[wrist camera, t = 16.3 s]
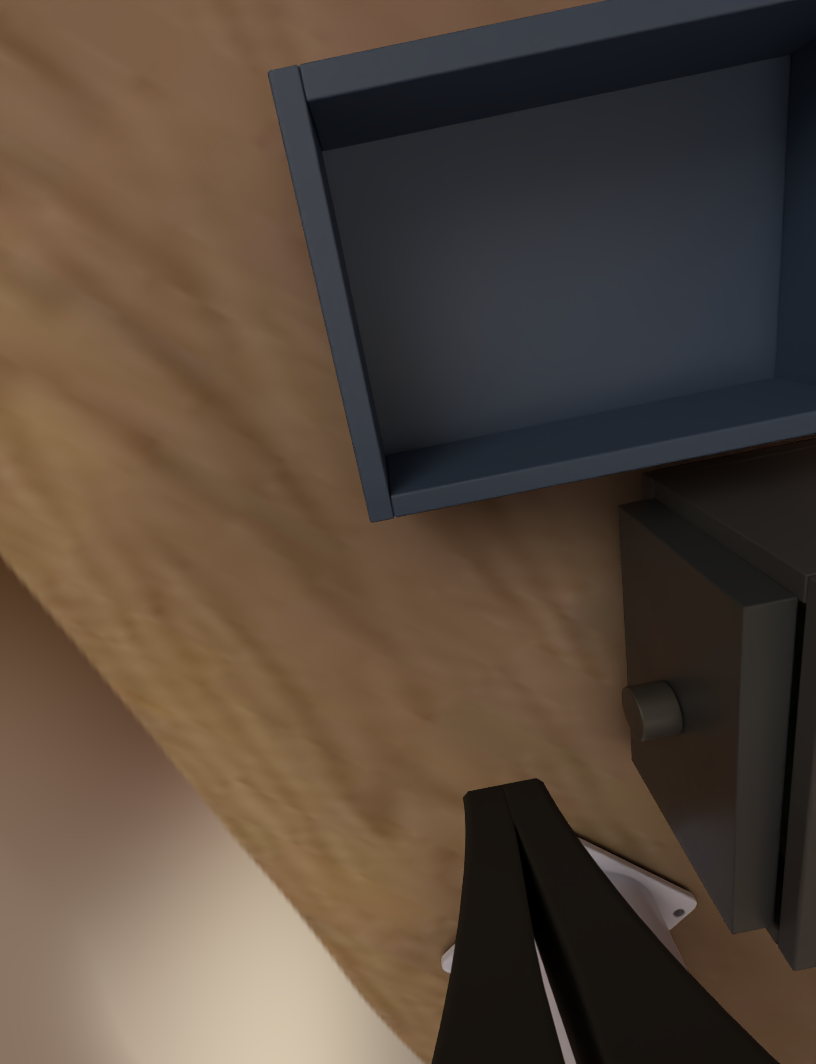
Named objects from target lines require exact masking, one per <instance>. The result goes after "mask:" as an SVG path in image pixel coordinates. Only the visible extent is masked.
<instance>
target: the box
mask: <svg viewBox="0 0 816 1064" xmlns="http://www.w3.org/2000/svg"><path fill="white" fill-rule="evenodd" d="M268 77H269V82H270V86H271V90H272V95H273V99H274V103H275V108H276V112H277V116H278V121H279V125H280V130H281V134H282V138H283V143H284V147H285V151H286V156H287V160H288V164H289V169H290V173H291V178H292V182H293V186H294V191H295V195H296V199H297V204H298V208H299V212H300V217H301V221H302V226H303V230H304V234H305V239H306V243H307V247H308V252H309V256H310V261H311V265H312V269H313V274H314V278H315V282H316V287H317V291H318V295H319V300H320V304H321V309H322V313H323V317H324V322H325V326H326V330H327V335H328V339H329V343H330V348H331V352H332V357H333V361H334V365H335V370H336V374H337V378H338V383H339V387H340V391H341V396H342V400H343V405H344V409H345V413H346V418H347V422H348V426H349V431H350V435H351V439H352V444H353V448H354V453H355V457H356V461H357V466H358V470H359V474H360V479H361V483H362V487H363V492H364V496H365V501H366V505H367V509H368V514H369V518H370V521H371V522H378V521H383V520H388V519H393V518H394V516H395V517H401V516H406V515H411V514H416V513H421V512H426V511H431V510H436V509H441V508H446V507H451V506H456V505H461V504H466V503H471V502H476V501H481V500H486V499H491V498H496V497H501V496H506V495H511V494H516V493H521V492H526V491H531V490H536V489H541V488H546V487H551V486H556V485H561V484H566V483H571V482H576V481H581V480H586V479H591V478H596V477H601V476H606V475H611V474H616V473H621V472H626V471H631V470H636V469H641V468H646V467H651V466H656V465H661V464H666V463H671V462H676V461H681V460H686V459H691V458H696V457H701V456H706V455H711V454H716V453H721V452H726V451H731V450H736V449H741V448H746V447H751V446H756V445H761V444H766V443H771V442H776V441H781V440H786V439H791V438H796V437H801V436H806V435H811V434H816V0H606V1H602V2H597V3H592V4H587V5H582V6H578V7H573V8H568V9H563V10H558V11H554V12H549V13H544V14H539V15H535V16H530V17H525V18H520V19H515V20H511V21H506V22H501V23H496V24H491V25H487V26H482V27H477V28H472V29H467V30H463V31H458V32H453V33H448V34H443V35H439V36H434V37H429V38H424V39H419V40H415V41H410V42H405V43H400V44H395V45H391V46H386V47H381V48H376V49H372V50H367V51H362V52H357V53H352V54H348V55H343V56H338V57H333V58H328V59H324V60H319V61H314V62H309V63H304V64H301V65H300V68H299V66H297V65H294V66H290V67H285V68H280V69H275V70H270V71H269V72H268Z"/></svg>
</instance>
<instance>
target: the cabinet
mask: <svg viewBox="0 0 816 1064" xmlns="http://www.w3.org/2000/svg"><path fill="white" fill-rule="evenodd" d="M653 498H655V499H656V500H658V501H659V502H661V503H662V504H664V505H665V506H666V507H668V508H669V509H671V510H672V511H674V512H675V513H677V514H678V515H680V516H681V517H682V518H684V519H685V520H687V521H688V522H690V523H691V524H693V525H694V526H695V527H697V528H698V529H700V530H701V531H703V532H704V533H706V534H707V535H709V536H710V537H711V538H713V539H714V540H716V541H717V542H719V543H720V544H722V545H723V546H724V547H726V548H727V549H729V550H730V551H732V552H733V553H735V554H736V555H738V556H739V557H740V558H742V559H743V560H745V561H746V562H748V563H749V564H751V565H752V566H753V567H755V568H756V569H758V570H759V571H761V572H762V573H764V574H765V575H767V576H768V577H769V578H771V579H772V580H774V581H775V582H777V583H778V584H780V585H781V586H782V587H784V588H785V589H787V590H788V591H790V592H791V593H793V594H794V595H796V596H797V597H798V599H799V600H800V601H802V602H803V603H806V614H805V626H804V638H803V650H802V662H801V674H800V686H799V698H798V710H797V722H796V734H795V746H794V758H793V770H792V782H791V794H790V806H789V818H788V830H787V842H786V854H785V859H784V857H783V856H782V855H781V853H780V852H779V856H778V869H777V882H776V895H775V908H774V921H773V926H772V927H767V928H766V929H767V931H768V932H769V934H770V935H771V937H772V938H773V940H774V942H775V943H776V944H778V948H779V949H780V951H781V952H782V954H783V956H784V957H785V959H786V960H787V962H788V963H789V965H790V967H791V968H792V969H793V970H794V971H797V970H803V969H808V968H813V967H816V439H811V440H806V441H801V442H796V443H791V444H786V445H781V446H776V447H771V448H766V449H761V450H756V451H751V452H746V453H741V454H736V455H731V456H726V457H721V458H716V459H711V460H706V461H701V462H696V463H691V464H686V465H681V466H676V467H671V468H666V469H661V470H656V471H651V472H646V473H644V500H648V499H653Z"/></svg>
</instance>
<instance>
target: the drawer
mask: <svg viewBox="0 0 816 1064" xmlns="http://www.w3.org/2000/svg"><path fill="white" fill-rule="evenodd" d="M618 509H619V527H620V546H621V565H622V583H623V602H624V621H625V639H626V658H627V677H628V686H627V687H625V688H624V689H623V691H622V703H623V709H624V713H625V716H626V719H627V722H628V724H629V727H630V733H631V751H632V761H633V763H634V765H635V766H636V768H637V770H638V772H639V773H640V775H641V777H642V779H643V780H644V782H645V784H646V786H647V787H648V789H649V791H650V793H651V794H652V796H653V798H654V799H655V801H656V803H657V805H658V806H659V808H660V810H661V812H662V813H663V815H664V817H665V819H666V820H667V822H668V824H669V826H670V827H671V829H672V831H673V833H674V834H675V836H676V838H677V840H678V841H679V843H680V845H681V846H682V848H683V850H684V852H685V853H686V855H687V857H688V859H689V860H690V862H691V864H692V866H693V867H694V869H695V871H696V873H697V874H698V876H699V878H700V880H701V881H702V883H703V885H704V887H705V888H706V890H707V892H708V893H709V895H710V897H711V899H712V900H713V902H714V904H715V906H716V907H717V909H718V911H719V913H720V914H721V916H722V918H723V920H724V921H725V923H726V925H727V927H728V928H729V930H730V932H731V933H732V934H736V933H741V932H746V931H752V930H757V929H762V928H767V927H772V926H773V921H774V908H775V895H776V882H777V869H778V856H779V852H780V853H781V855H782V856H783V857H784V859H785V854H786V842H787V830H788V818H789V806H790V794H791V782H792V770H793V758H794V746H795V734H796V722H797V710H798V698H799V686H800V674H801V662H802V650H803V638H804V626H805V614H806V603H803V602H802V601H800V600H799V599H798V597H797V596H796V595H794V594H793V593H791V592H790V591H788V590H787V589H785V588H784V587H782V586H781V585H780V584H778V583H777V582H775V581H774V580H772V579H771V578H769V577H768V576H767V575H765V574H764V573H762V572H761V571H759V570H758V569H756V568H755V567H753V566H752V565H751V564H749V563H748V562H746V561H745V560H743V559H742V558H740V557H739V556H738V555H736V554H735V553H733V552H732V551H730V550H729V549H727V548H726V547H724V546H723V545H722V544H720V543H719V542H717V541H716V540H714V539H713V538H711V537H710V536H709V535H707V534H706V533H704V532H703V531H701V530H700V529H698V528H697V527H695V526H694V525H693V524H691V523H690V522H688V521H687V520H685V519H684V518H682V517H681V516H680V515H678V514H677V513H675V512H674V511H672V510H671V509H669V508H668V507H666V506H665V505H664V504H662V503H661V502H659V501H658V500H656V499H655V498H653V499H648V500H643V501H638V502H633V503H628V504H623V505H619V506H618Z"/></svg>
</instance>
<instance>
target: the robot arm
mask: <svg viewBox="0 0 816 1064" xmlns="http://www.w3.org/2000/svg"><path fill="white" fill-rule="evenodd" d="M463 801H464V809H465V831H466V834H465V861H464V875H463V885H462V895H461V905H460V914H459V922H458V929H457V935H456V941H455V944H454V945H453V946H452V947H451V948H450V949H449V950H448V951H447V952H446V953H445V954H444V955H443V956H442V958H441V963H442V968H443V970H444V971H446V972H448V973H450V979H449V984H448V989H447V994H446V1000H445V1005H444V1010H443V1015H442V1019H441V1024H440V1029H439V1033H438V1038H437V1042H436V1046H435V1051H434V1055H433V1060H432V1064H780V1063H779V1062H778V1061H776V1060H775V1059H774V1058H773V1057H772V1056H771V1055H770V1054H769V1053H768V1052H767V1051H766V1050H765V1049H764V1048H763V1047H762V1046H761V1045H760V1044H759V1043H758V1042H757V1041H756V1040H755V1039H754V1038H753V1037H752V1036H751V1035H750V1034H749V1033H748V1032H747V1031H746V1030H745V1029H744V1028H743V1027H742V1026H741V1025H740V1024H739V1023H738V1022H737V1021H736V1020H734V1019H733V1018H732V1017H731V1016H730V1015H729V1014H728V1013H727V1012H726V1011H725V1010H724V1009H723V1007H722V1006H721V1005H720V1004H719V1003H718V1002H717V1001H716V1000H715V999H714V998H713V997H712V996H711V995H710V994H709V993H708V992H707V991H706V990H705V989H704V988H703V987H702V986H701V985H700V984H699V983H698V982H697V980H696V979H695V978H694V977H693V976H692V975H691V974H690V973H689V971H688V969H687V967H686V965H685V963H684V961H683V959H682V957H681V955H680V953H679V950H678V948H677V946H676V944H675V942H674V940H673V938H672V936H671V934H670V932H669V931H670V930H671V929H672V928H673V927H674V926H675V925H676V924H678V923H679V922H680V921H681V920H682V919H683V918H685V917H686V916H687V915H688V914H689V913H690V912H691V911H693V910H694V909H695V907H696V904H697V902H696V900H695V898H694V896H693V894H692V893H690V892H689V891H687V890H684V889H682V888H680V887H678V886H676V885H674V884H672V883H670V882H668V881H666V880H664V879H662V878H660V877H658V876H656V875H654V874H652V873H650V872H648V871H646V870H644V869H642V868H640V867H638V866H636V865H634V864H632V863H630V862H628V861H626V860H624V859H621V858H619V857H617V856H615V855H613V854H611V853H609V852H607V851H605V850H603V849H601V848H599V847H597V846H595V845H593V844H591V843H589V842H587V841H585V840H583V839H581V838H579V837H577V835H576V834H575V833H574V831H573V830H572V828H571V827H570V825H569V824H568V822H567V821H566V819H565V818H564V816H563V815H562V813H561V812H560V810H559V809H558V807H557V805H556V804H555V802H554V800H553V799H552V797H551V795H550V794H549V792H548V790H547V788H546V787H545V785H544V783H543V782H542V781H540V780H539V779H537V778H535V779H529V780H524V781H519V782H514V783H509V784H504V785H499V786H493V787H488V788H483V789H478V790H473V791H468V792H467V794H466V795H465V796H464V797H463Z"/></svg>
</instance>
